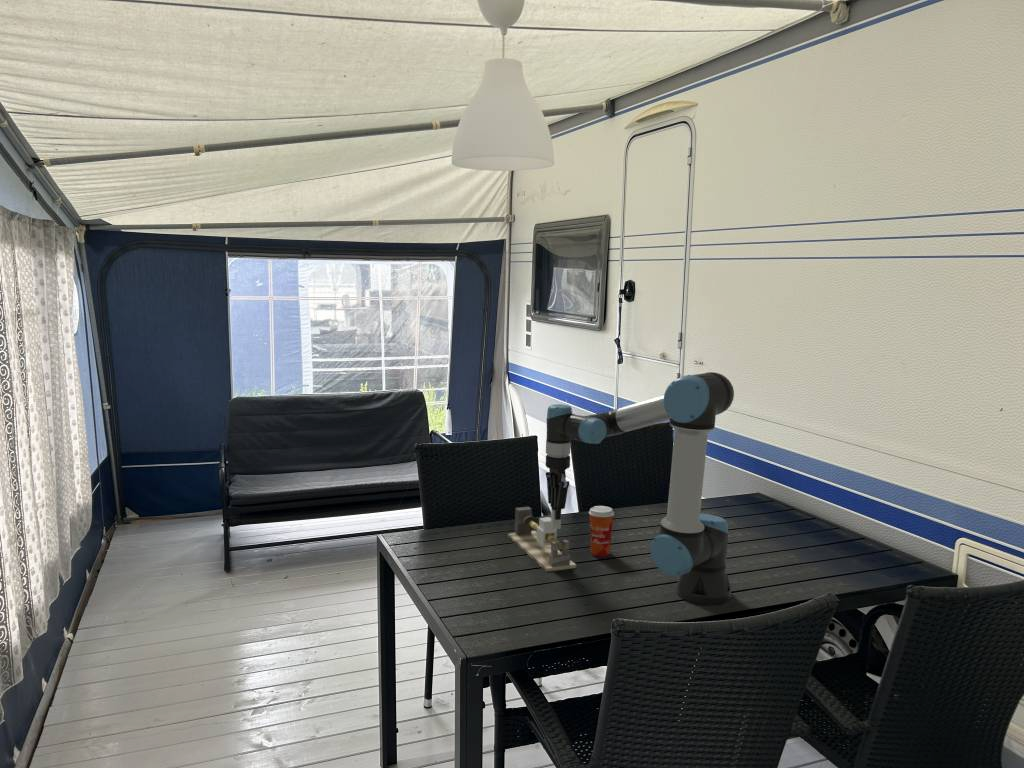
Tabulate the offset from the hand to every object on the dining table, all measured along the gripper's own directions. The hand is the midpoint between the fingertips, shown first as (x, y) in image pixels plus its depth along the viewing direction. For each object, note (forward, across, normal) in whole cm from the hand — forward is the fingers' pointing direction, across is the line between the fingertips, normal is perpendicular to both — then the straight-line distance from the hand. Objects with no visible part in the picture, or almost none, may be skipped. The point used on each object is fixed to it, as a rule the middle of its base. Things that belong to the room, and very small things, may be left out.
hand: (555, 528), depth 240 cm
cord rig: (+12, +12, 0) cm, 17 cm away
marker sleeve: (+7, +7, 0) cm, 10 cm away
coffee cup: (+12, +4, -18) cm, 22 cm away
